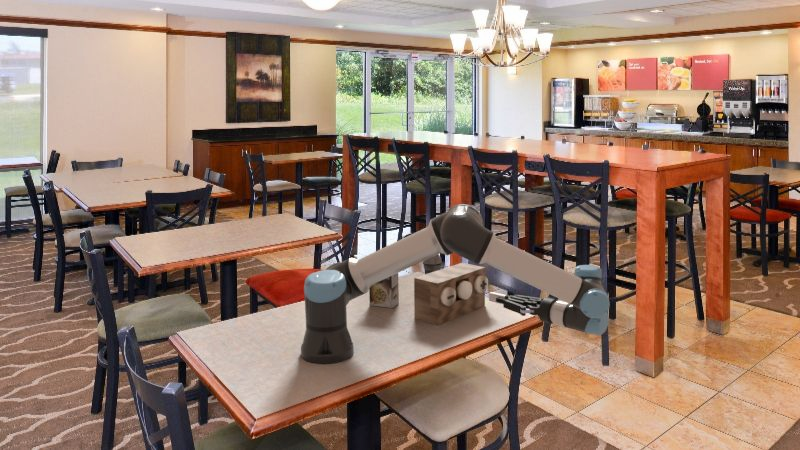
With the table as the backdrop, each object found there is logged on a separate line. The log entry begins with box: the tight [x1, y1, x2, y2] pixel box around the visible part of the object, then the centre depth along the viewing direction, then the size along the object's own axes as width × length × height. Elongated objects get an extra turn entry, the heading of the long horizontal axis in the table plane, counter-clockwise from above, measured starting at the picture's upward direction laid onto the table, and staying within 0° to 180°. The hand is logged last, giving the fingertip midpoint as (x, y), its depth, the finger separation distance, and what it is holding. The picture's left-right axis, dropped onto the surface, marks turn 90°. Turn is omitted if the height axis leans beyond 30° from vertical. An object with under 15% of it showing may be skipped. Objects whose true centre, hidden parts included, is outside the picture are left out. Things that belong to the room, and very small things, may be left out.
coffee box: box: [368, 273, 400, 309], centre depth 228 cm, size 9×6×16 cm
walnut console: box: [413, 262, 489, 326], centre depth 219 cm, size 26×12×14 cm, turn 137°
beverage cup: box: [422, 254, 443, 275], centre depth 241 cm, size 7×7×20 cm
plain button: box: [457, 281, 472, 299], centre depth 215 cm, size 6×2×6 cm, turn 137°
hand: (490, 296), depth 208 cm, fingers closed
